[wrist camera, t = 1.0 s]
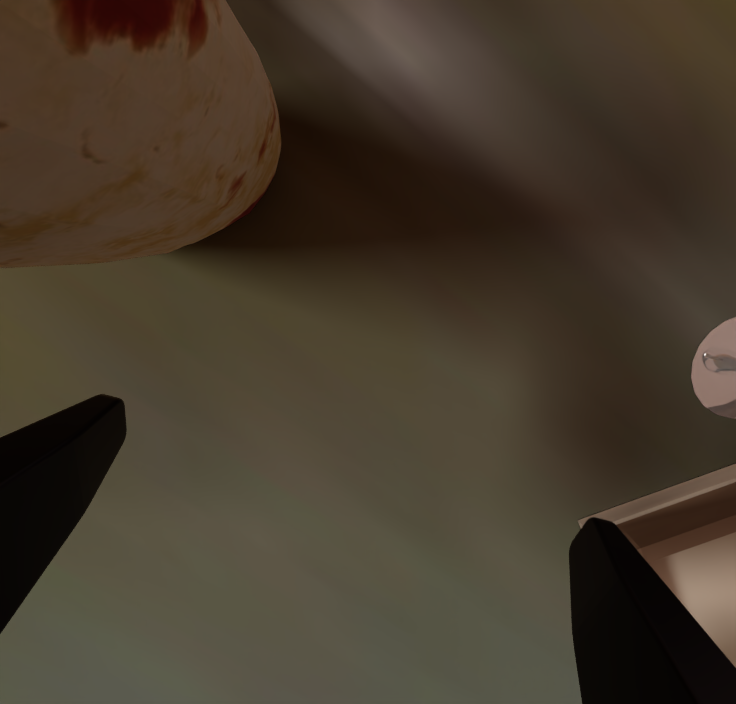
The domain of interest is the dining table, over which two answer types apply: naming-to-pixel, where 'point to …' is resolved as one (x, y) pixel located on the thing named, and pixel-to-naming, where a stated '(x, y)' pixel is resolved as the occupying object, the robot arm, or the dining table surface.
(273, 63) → the dining table surface
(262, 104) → the food model
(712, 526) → the brown wooden tray
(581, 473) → the dining table surface
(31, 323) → the dining table surface
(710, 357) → the wineglass
